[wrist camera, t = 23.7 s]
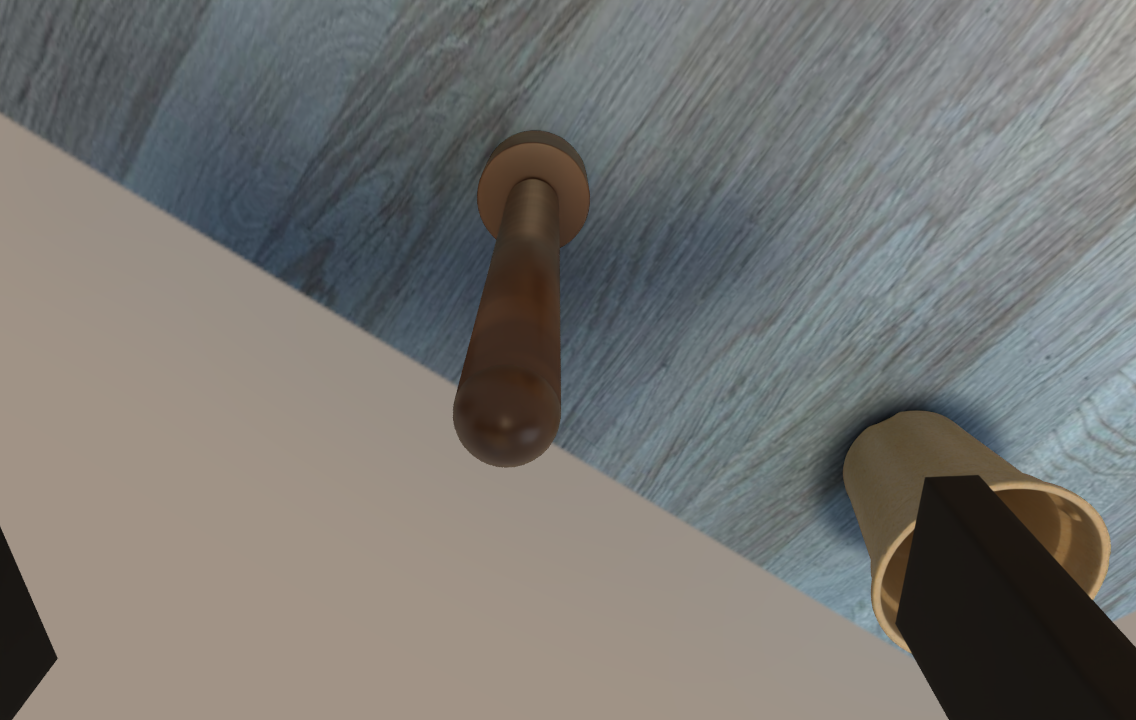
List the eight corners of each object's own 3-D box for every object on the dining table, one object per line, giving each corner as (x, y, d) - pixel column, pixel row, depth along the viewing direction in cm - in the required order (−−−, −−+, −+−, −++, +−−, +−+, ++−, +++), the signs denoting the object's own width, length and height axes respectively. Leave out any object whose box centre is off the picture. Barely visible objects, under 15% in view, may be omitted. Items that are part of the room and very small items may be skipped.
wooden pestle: (496, 242, 33) (414, 558, 14) (473, 140, 31) (343, 348, 12) (595, 224, 33) (646, 523, 14) (577, 121, 31) (608, 303, 12)
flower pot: (990, 524, 40) (1095, 650, 32) (811, 548, 41) (872, 678, 33) (1005, 366, 36) (1128, 466, 28) (806, 395, 37) (874, 501, 29)
